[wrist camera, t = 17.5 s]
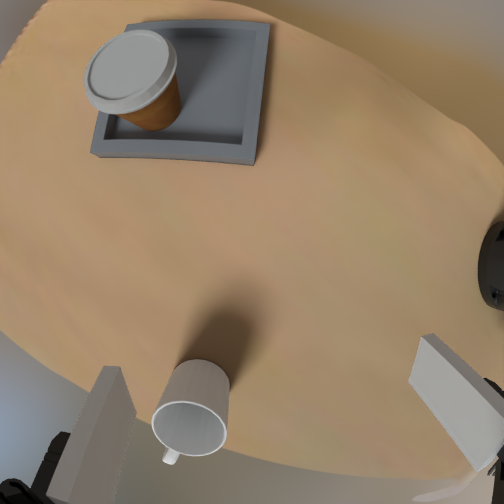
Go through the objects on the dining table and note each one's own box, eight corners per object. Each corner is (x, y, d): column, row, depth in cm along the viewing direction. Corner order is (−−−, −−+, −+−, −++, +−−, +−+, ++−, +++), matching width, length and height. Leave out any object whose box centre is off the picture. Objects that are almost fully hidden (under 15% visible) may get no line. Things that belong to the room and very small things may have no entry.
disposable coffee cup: (133, 156, 33) (88, 127, 21) (116, 97, 32) (75, 55, 21) (204, 124, 33) (187, 79, 21) (181, 67, 32) (160, 12, 21)
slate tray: (268, 35, 33) (270, 23, 30) (253, 165, 34) (254, 160, 32) (133, 35, 32) (127, 24, 29) (100, 157, 34) (89, 152, 31)
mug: (184, 347, 36) (166, 388, 25) (240, 373, 36) (240, 420, 26) (153, 412, 36) (132, 457, 26) (203, 434, 37) (195, 483, 26)
